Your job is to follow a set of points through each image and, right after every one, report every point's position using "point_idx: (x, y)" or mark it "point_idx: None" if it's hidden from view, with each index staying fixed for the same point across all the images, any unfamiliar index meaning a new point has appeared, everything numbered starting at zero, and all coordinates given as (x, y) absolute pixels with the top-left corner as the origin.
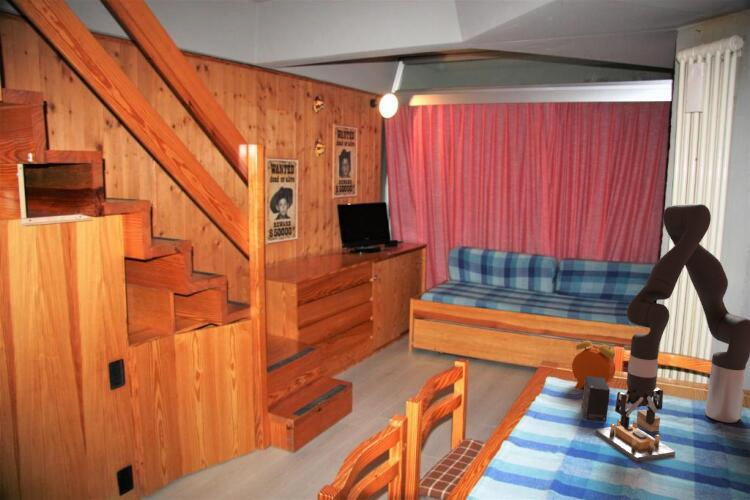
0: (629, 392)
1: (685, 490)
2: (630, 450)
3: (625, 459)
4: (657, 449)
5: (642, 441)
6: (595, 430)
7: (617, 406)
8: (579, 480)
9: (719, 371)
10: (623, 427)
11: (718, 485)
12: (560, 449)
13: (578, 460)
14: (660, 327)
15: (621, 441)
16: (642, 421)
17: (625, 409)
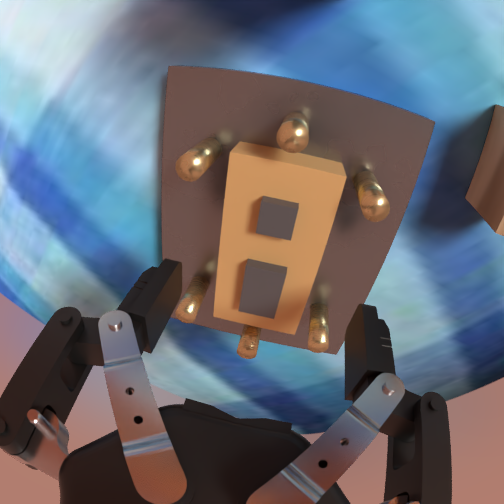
0: (76, 495)
1: (195, 398)
2: None
3: None
4: None
5: (231, 316)
6: (172, 66)
7: (47, 348)
8: (12, 276)
9: None
10: (269, 184)
11: (283, 419)
12: (4, 151)
13: (24, 220)
14: None
15: (197, 222)
16: (499, 150)
17: (130, 350)
